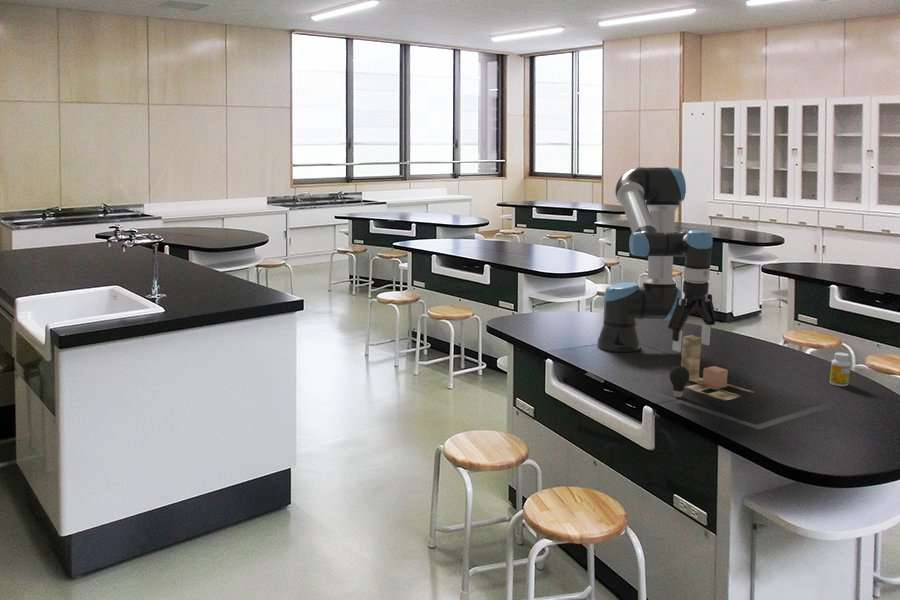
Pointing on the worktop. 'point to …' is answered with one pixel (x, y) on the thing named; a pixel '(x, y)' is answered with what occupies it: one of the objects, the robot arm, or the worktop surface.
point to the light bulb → (679, 379)
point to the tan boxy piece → (692, 357)
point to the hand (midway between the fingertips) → (690, 347)
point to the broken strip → (717, 393)
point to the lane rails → (719, 390)
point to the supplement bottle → (840, 370)
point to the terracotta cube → (715, 377)
